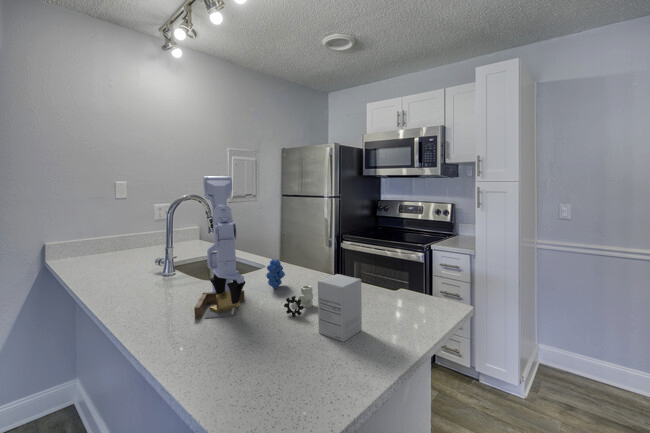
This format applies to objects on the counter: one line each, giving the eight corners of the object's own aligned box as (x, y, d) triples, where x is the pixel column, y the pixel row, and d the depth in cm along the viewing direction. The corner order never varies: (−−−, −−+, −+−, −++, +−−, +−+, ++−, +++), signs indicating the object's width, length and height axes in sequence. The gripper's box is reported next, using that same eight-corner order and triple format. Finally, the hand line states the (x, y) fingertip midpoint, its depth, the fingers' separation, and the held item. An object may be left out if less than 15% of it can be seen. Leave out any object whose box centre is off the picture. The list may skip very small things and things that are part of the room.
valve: (301, 302, 114) (283, 315, 103) (300, 284, 113) (283, 295, 102) (318, 305, 112) (302, 318, 101) (318, 286, 111) (302, 298, 100)
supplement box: (337, 322, 98) (336, 273, 96) (362, 330, 92) (362, 278, 91) (317, 333, 91) (316, 280, 89) (343, 342, 85) (343, 286, 84)
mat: (210, 305, 112) (210, 304, 112) (237, 303, 113) (237, 302, 113) (204, 318, 101) (204, 317, 101) (234, 316, 102) (234, 315, 102)
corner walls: (203, 302, 115) (203, 292, 114) (244, 299, 117) (244, 290, 117) (194, 318, 101) (194, 307, 101) (241, 315, 103) (241, 304, 103)
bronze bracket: (219, 313, 104) (217, 295, 103) (209, 310, 107) (208, 292, 106) (239, 305, 110) (238, 288, 110) (230, 302, 113) (229, 285, 113)
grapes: (278, 294, 122) (278, 262, 121) (262, 292, 124) (261, 261, 123) (291, 284, 133) (290, 255, 132) (276, 283, 135) (275, 254, 134)
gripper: (251, 260, 104) (252, 301, 106) (223, 254, 113) (225, 292, 115) (232, 265, 99) (234, 308, 100) (205, 258, 108) (207, 298, 109)
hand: (228, 300), depth 107 cm, fingers open, 7 cm apart
